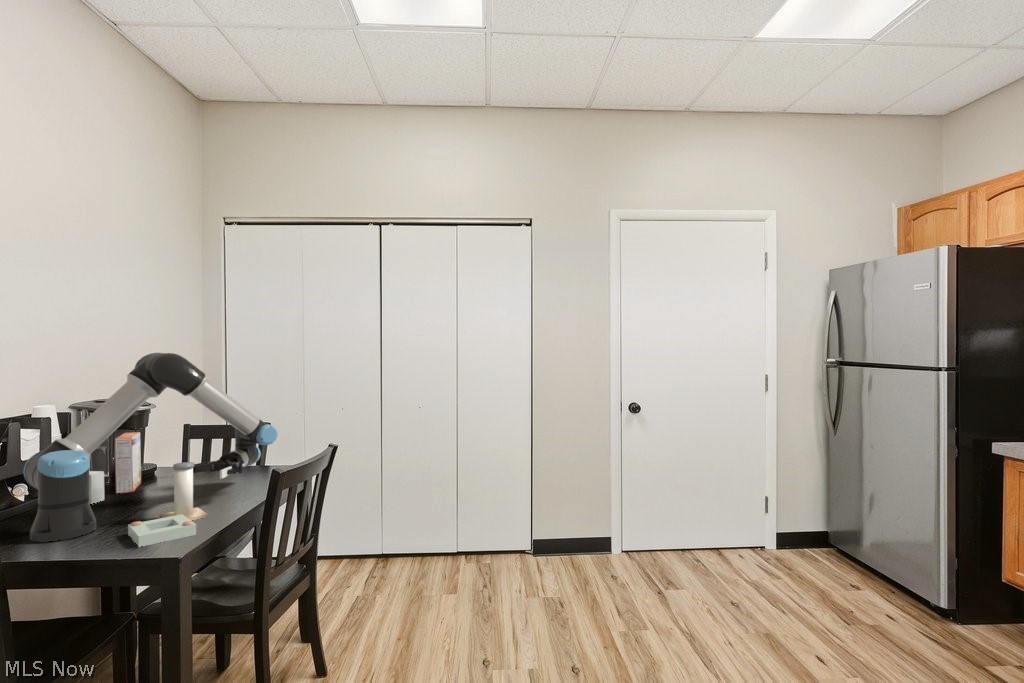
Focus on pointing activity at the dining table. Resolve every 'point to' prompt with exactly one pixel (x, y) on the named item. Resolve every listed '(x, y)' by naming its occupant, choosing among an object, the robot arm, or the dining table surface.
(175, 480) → the cylinder
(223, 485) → the dining table surface
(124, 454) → the cracker box
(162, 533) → the frame
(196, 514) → the board
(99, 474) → the small box
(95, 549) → the dining table surface
